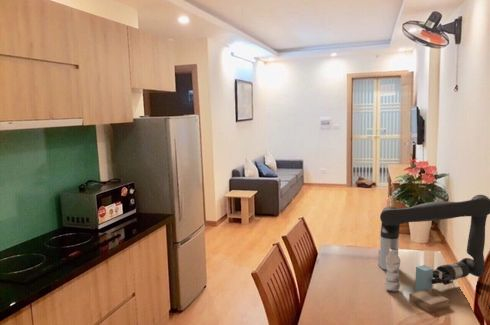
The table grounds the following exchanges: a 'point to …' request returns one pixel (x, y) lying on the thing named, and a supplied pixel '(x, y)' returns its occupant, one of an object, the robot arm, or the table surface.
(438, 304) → the walnut block
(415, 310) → the table surface
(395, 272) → the plastic bottle
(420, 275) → the blue block
